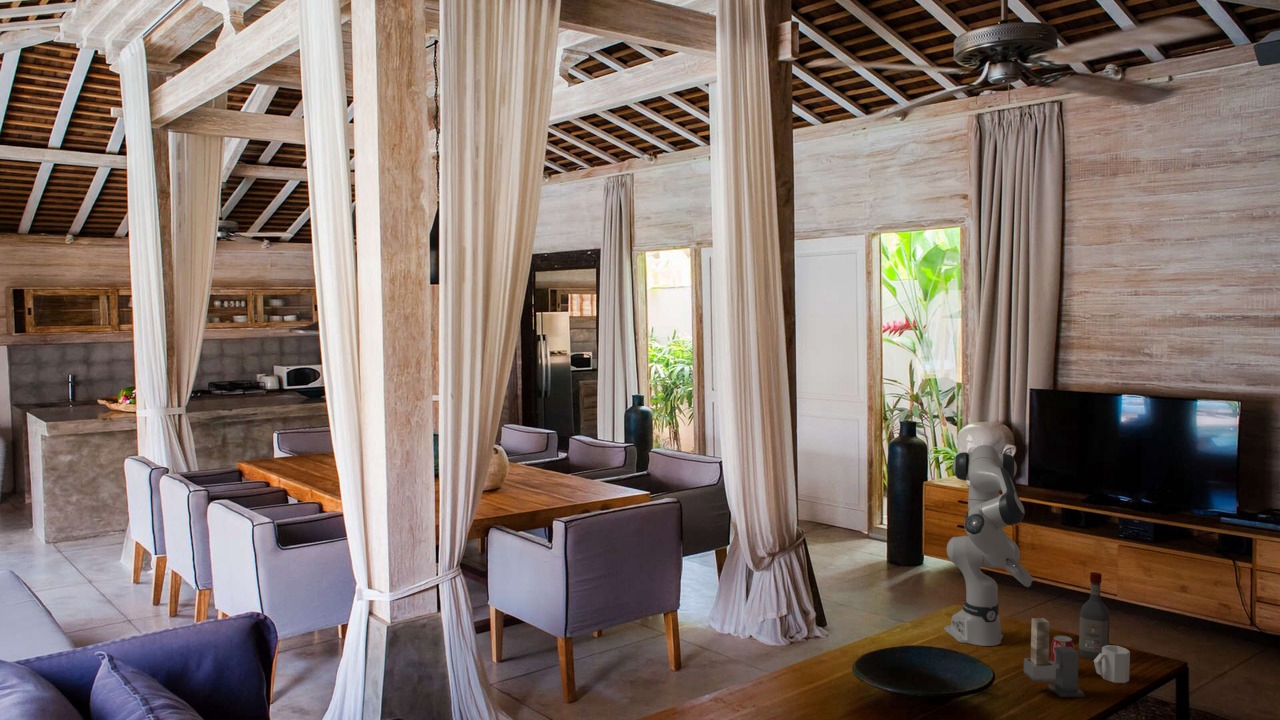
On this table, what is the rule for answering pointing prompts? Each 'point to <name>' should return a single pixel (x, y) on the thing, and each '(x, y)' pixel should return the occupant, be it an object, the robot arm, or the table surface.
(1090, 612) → the liquor
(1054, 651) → the soda can
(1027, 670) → the cup bracket
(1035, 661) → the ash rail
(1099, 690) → the table surface
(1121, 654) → the mug
